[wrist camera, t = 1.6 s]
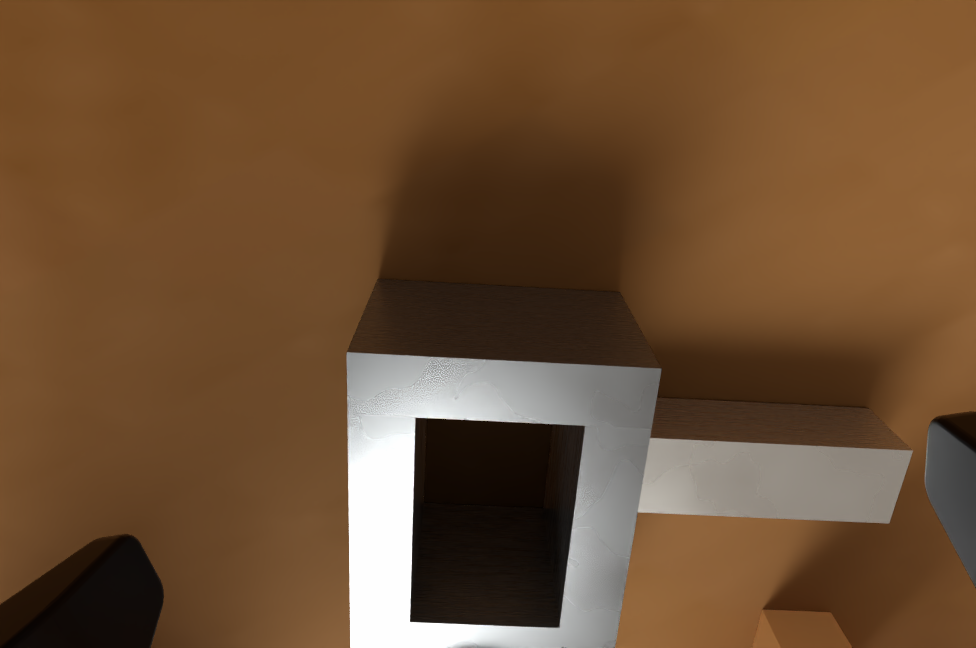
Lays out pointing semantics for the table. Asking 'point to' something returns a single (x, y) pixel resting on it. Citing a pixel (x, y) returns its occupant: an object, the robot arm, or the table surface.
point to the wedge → (798, 630)
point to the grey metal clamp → (560, 464)
